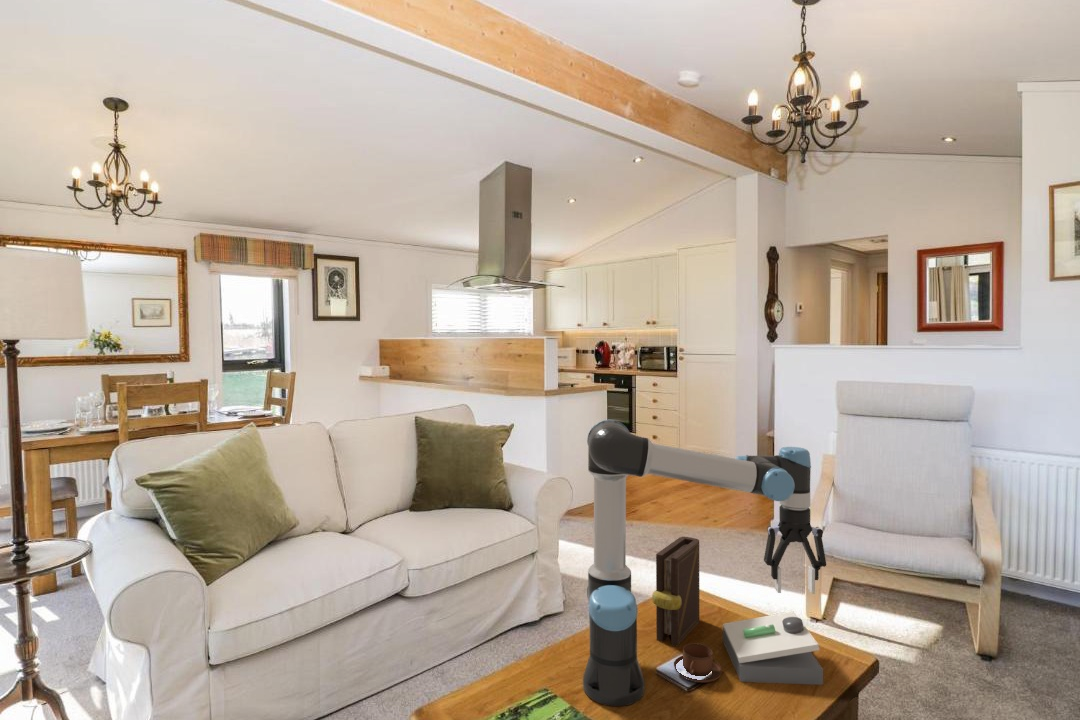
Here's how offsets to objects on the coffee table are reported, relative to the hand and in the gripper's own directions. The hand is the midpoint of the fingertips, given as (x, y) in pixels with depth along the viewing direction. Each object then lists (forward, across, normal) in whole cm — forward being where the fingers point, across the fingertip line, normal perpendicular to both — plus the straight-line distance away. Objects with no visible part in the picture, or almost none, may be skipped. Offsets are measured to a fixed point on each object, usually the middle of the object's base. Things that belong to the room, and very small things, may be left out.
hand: (794, 591), depth 155 cm
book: (+19, +28, -15) cm, 38 cm away
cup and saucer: (+20, +27, +7) cm, 34 cm away
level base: (+19, +6, 0) cm, 20 cm away
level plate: (+13, +7, 0) cm, 15 cm away
